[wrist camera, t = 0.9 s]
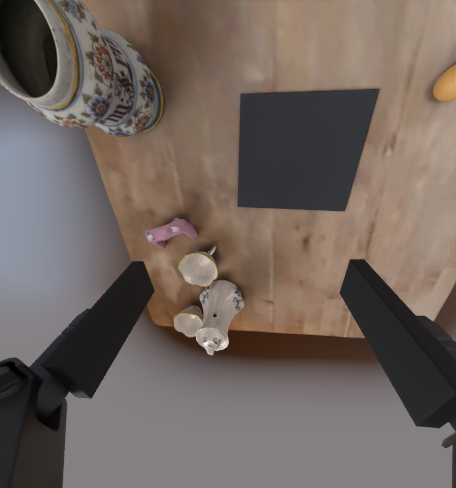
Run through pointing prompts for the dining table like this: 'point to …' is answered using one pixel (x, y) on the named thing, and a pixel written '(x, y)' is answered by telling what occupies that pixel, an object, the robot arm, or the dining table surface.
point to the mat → (301, 147)
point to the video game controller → (169, 232)
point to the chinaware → (208, 302)
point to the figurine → (446, 85)
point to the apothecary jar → (75, 68)
